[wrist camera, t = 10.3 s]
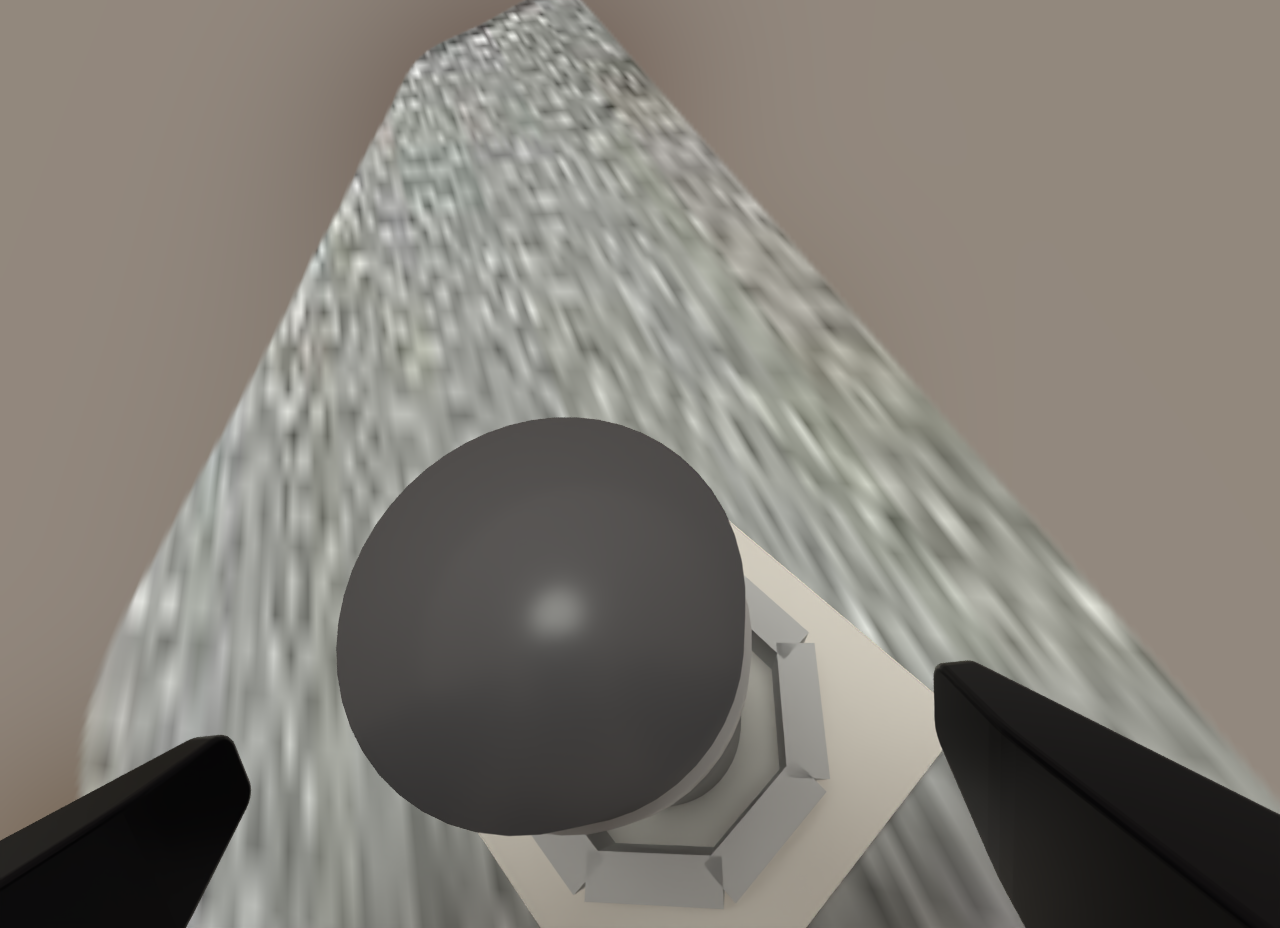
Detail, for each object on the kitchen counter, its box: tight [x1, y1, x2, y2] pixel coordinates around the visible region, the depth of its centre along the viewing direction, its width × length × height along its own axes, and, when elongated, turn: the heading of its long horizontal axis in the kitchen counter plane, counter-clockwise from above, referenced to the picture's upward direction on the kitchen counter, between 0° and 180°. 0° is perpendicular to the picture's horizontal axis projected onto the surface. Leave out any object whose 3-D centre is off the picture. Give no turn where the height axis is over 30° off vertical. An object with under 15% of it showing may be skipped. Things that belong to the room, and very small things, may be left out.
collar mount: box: [478, 521, 942, 928], centre depth 17 cm, size 12×12×4 cm
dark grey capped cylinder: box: [336, 417, 752, 836], centre depth 12 cm, size 5×5×13 cm
